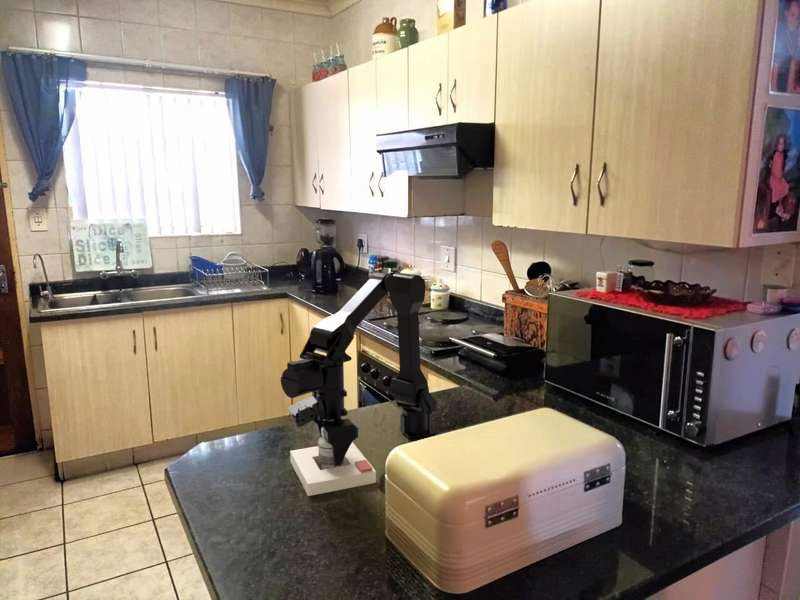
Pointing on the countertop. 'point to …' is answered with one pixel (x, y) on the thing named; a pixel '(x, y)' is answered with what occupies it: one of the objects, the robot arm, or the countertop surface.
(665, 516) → the countertop surface
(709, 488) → the countertop surface
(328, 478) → the socket plate
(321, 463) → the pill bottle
